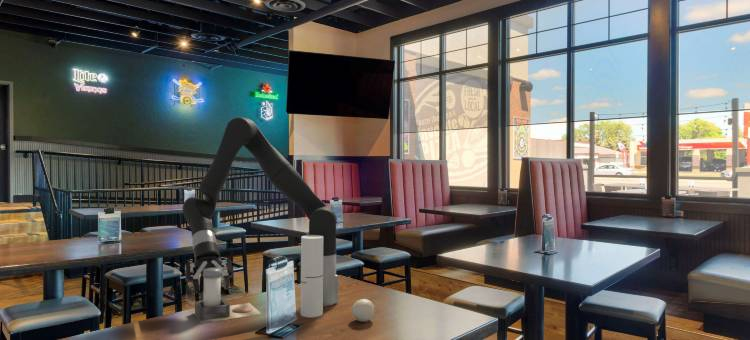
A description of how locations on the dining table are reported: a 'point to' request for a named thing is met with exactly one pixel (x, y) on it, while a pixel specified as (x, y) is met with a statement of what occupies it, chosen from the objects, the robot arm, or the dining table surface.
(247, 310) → the socket board
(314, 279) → the cylindrical container
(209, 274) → the cylinder
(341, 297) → the dining table surface
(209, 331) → the dining table surface
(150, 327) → the dining table surface
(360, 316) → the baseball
